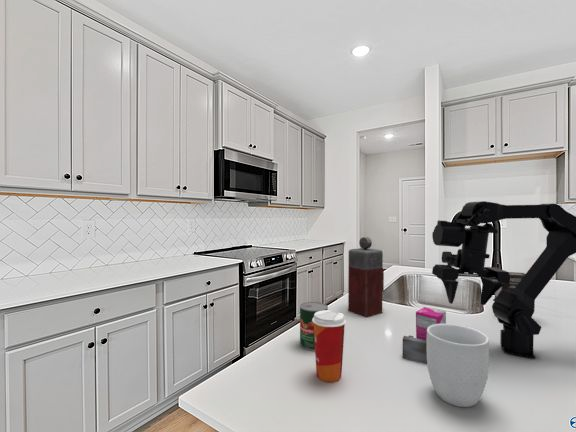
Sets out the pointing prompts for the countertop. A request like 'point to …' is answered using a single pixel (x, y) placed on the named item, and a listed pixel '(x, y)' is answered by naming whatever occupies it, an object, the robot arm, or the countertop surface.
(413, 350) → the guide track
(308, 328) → the canned tomato
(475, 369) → the mug
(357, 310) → the pepper mill
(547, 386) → the countertop surface
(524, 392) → the countertop surface
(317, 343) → the paper cup
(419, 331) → the supplement box
